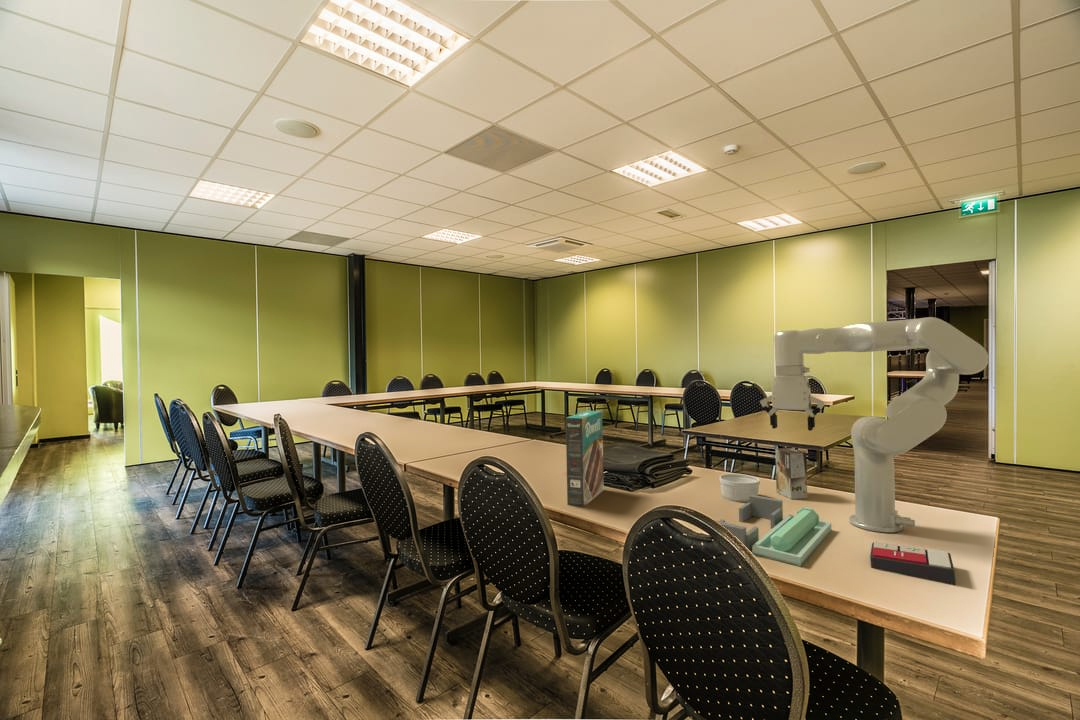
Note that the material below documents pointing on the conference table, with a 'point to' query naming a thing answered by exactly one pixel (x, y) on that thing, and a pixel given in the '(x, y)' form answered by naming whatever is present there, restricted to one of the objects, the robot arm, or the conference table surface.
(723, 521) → the bay
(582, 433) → the cake mix box
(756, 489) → the ramekin
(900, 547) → the black switch panel
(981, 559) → the conference table surface
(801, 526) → the green hexagonal bar
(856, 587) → the conference table surface
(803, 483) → the coffee box
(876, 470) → the robot arm
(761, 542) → the tray
